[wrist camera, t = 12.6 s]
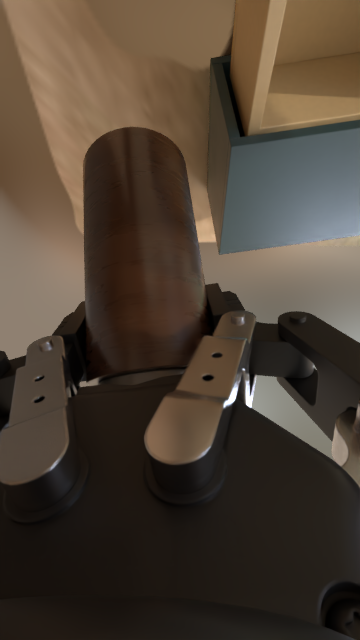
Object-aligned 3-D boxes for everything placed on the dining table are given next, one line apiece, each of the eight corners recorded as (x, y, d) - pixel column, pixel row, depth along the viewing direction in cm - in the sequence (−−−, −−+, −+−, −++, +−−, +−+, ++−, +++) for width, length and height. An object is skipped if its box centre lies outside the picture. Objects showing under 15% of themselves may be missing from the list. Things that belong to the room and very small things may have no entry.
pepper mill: (64, 136, 13) (59, 522, 8) (183, 117, 12) (247, 500, 8) (102, 215, 17) (113, 481, 13) (188, 202, 17) (229, 467, 13)
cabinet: (210, 57, 20) (230, 146, 18) (418, 25, 20) (472, 111, 17) (206, 189, 32) (218, 255, 29) (337, 170, 32) (362, 235, 29)
